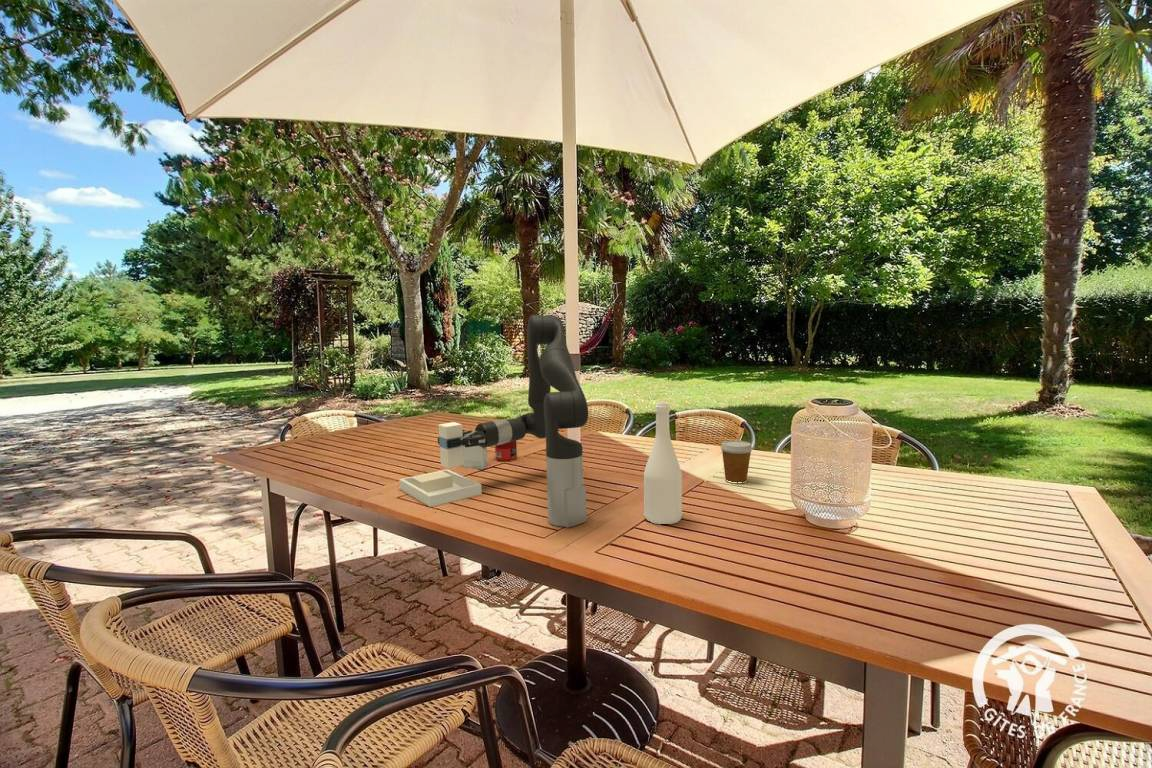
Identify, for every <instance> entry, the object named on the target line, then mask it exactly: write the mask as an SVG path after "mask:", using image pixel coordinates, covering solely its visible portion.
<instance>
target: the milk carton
mask: <svg viewBox="0 0 1152 768" xmlns="http://www.w3.org/2000/svg"><path fill="white" fill-rule="evenodd" d="M462 430H463V424H462V423H459V422H455V421H451V422H446V423H439V424H438V437H439V444H438V445H439V454H440V455H439V456H440V457H439V458H440V465H441V466H442V467H445V468H448V469H450V468H455V467H460V466H463V465H464V452H463V447H460V446H458V447H453V448H447V445H446V441H447V440H452V439H457V438H459V440H460V438H461V437H463V434H462Z"/></svg>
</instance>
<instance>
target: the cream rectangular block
mask: <svg viewBox="0 0 1152 768" xmlns="http://www.w3.org/2000/svg"><path fill="white" fill-rule="evenodd" d="M440 471H441V472H437V471H435V472H436V473H432V472H430V473H431V474H427V473H425V474H426V475H423V474H420V475H421V476H418V475H416V476H417V477H413V476H411V477H412V484H413V485H415V486H417V487H418V488H420V489H422V490H424V491H426V492H427V493H428V492H433V491H437V490H441V489H446V488H450V487H453V479H452V475H450V474H447V473H445V472H443V471H442V470H440Z"/></svg>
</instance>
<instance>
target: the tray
mask: <svg viewBox="0 0 1152 768" xmlns="http://www.w3.org/2000/svg"><path fill="white" fill-rule="evenodd" d="M441 471H443V472H445V473H447V474H450V475H452V479H453V487H450V488H446V489H441V490H437V491H433V492H428V493H427V492H426V491H424V490H422V489H420V488H418V487H417V486H415V485H413V484H412V477H417V476H421V475H426V474H431V473H436V472H441ZM398 482H399V490H401V491H402V492H404V493H405V494H407V495H409V496H411V497H412V498H414V499H416V500H417V501H419V502H421V503H422V504H424V505H425V506H427V507H429V508H432V507H436V506H440V505H445V504H448V503H453V502H457V501H461V500H465V499H468V498H472V497H473V498H474V497H476V496H480V495H481V496H482V495H483V493H482V484H481V483H480V482H478V481H475V480H473V479H470V478H468V477H466V476H464V475H461V474H459V473H458V472H455V471H453V470H450V469H449V468H448V469H442V470H438V471H434V472H429V473H424V474H418V475H413V476H409V477H404V478H403V477H402V478H399V479H398Z"/></svg>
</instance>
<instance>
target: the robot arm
mask: <svg viewBox="0 0 1152 768" xmlns="http://www.w3.org/2000/svg"><path fill="white" fill-rule="evenodd" d="M526 327H527V328H526V339H527V341H526V343H527V361H528V364H527V366H528V379H529V380H528V396H527V397H528V398H527V399H528V400H527V401H528V402H527V404H528V406H529V407H530V408H531V409H532V411H533V412H527V413H524V414H522V415H520V416H519V415H518V416H516V418H509V419H498V420H493V421H486V422H479V423H478V424H477V425H476V426H475V429H474V430H473V429H467V430H465V429H462V434H463V437H461V438H460V440H459V438H457V439H452V440H447V441H446V445H447V448H453V447H458V446H460V447H463V446H465V447H466V448H467V447H473V446H480V447H482V448H485V447H487V448H491V447H495V445H500V444H504V443H507V442H511V441H516V442H517V441H519V440H522V439H524V438H525V436H526V435H527V434H530V435H532V436H533V437H535V438H538V439H545V452H546V453H545V455H546V456H545V458H546V461H545V463H546V490H547V491H546V493H547V496H546V497H547V519H548V520H547V521H548V523H549V524H550V525H552V526H556V527H565V528H572V527H574V526H577V525H580V524H583V523H586V522H587V498H586V497H587V488H586V487H587V486H586V485H584V466H583V465H584V462H583V460H584V458H583V456H584V455H583V453H584V452H583V444H582V443H581V442H579V441H578V440H575V439H572V438H568V437H566V436H564V435H562V434H560V431H559V430H560V429H562V430H563V429H576V428H582V427H584V426H585V425H587V422H588V420H589V405H588V401H587V398H586V396H585V394H584V391H583V390H582V387H581V385H580V382H579V380H578V378H577V375H576V372H575V371H576V370H575V367H574V364H573V360H572V356H571V354H570V351H569V348H568V345H567V340H566V336H565V332H564V331H565V330H564V325H563V322H562V319H561V318H560V317H559V316H555V315H547V314H546V315H544V314H543V315H542V314H532V315H530V316H529V318H528V321H527V325H526ZM539 345H545V348H544V349H543V350H542V352H541V353H540V356H539V353H538V346H539ZM546 345H547V346H546ZM551 388H553V389H554V390H557V391H552V392H551V390H552V389H551ZM437 444H438V445H439V436H438V437H437Z"/></svg>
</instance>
